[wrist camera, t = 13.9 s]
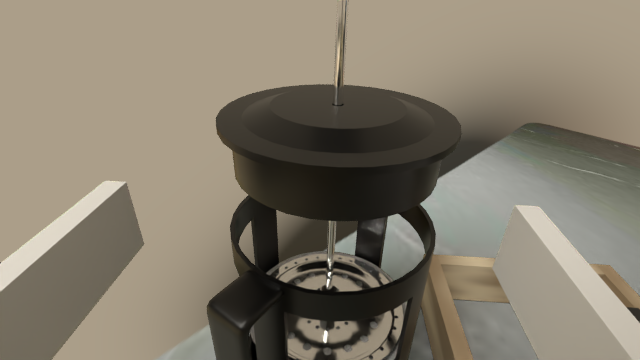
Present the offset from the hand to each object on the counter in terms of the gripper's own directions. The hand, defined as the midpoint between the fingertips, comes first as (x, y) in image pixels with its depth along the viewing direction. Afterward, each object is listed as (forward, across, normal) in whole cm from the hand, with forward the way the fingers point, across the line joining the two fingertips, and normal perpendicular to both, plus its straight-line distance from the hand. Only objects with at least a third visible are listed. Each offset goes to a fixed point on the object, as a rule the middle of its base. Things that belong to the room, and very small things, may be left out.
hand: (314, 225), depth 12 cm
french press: (+3, 0, -14) cm, 14 cm away
